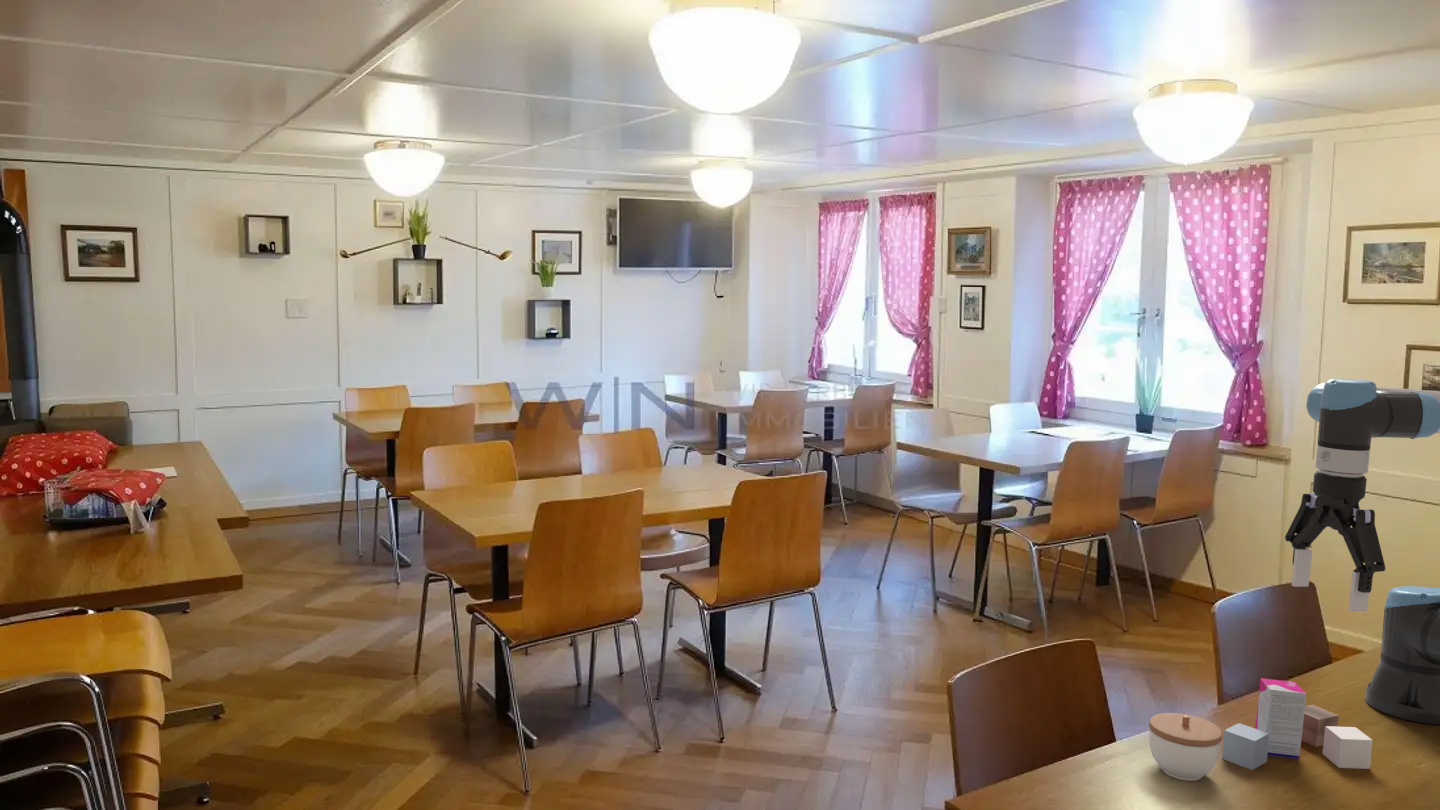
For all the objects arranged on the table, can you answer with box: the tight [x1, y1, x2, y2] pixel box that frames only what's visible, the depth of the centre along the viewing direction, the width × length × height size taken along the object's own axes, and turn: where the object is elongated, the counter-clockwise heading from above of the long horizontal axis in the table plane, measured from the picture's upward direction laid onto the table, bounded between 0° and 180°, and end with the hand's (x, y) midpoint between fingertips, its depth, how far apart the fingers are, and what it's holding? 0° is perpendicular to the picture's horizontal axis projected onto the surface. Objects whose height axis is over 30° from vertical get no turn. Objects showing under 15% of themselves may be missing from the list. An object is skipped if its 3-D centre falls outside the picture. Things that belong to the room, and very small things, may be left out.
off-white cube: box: [1322, 726, 1374, 770], centre depth 175 cm, size 5×5×5 cm
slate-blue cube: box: [1221, 722, 1269, 771], centre depth 174 cm, size 5×5×5 cm
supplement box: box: [1254, 677, 1307, 760], centre depth 178 cm, size 6×6×12 cm
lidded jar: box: [1148, 712, 1223, 782], centre depth 169 cm, size 11×11×9 cm
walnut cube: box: [1301, 704, 1340, 748], centre depth 183 cm, size 5×5×5 cm
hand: (1327, 598), depth 177 cm, fingers open, 13 cm apart
